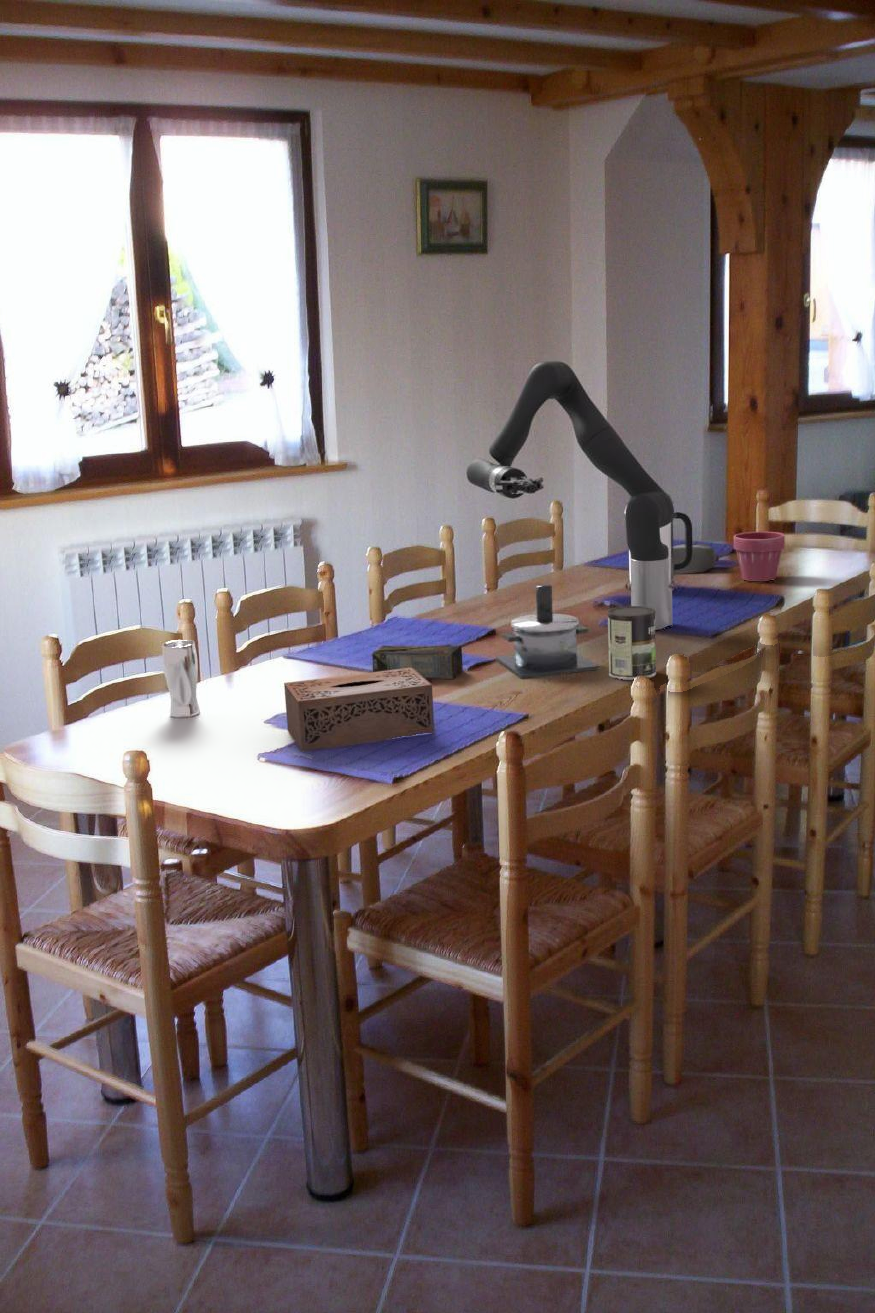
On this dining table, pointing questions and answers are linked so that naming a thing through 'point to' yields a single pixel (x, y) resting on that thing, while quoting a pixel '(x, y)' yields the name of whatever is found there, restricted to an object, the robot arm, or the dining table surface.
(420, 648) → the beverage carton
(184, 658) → the crushed soda can
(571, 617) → the lid
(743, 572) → the plant pot
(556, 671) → the pot
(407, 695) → the tissue box cover
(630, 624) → the coffee can
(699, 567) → the grey dish
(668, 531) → the coffee press
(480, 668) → the dining table surface
